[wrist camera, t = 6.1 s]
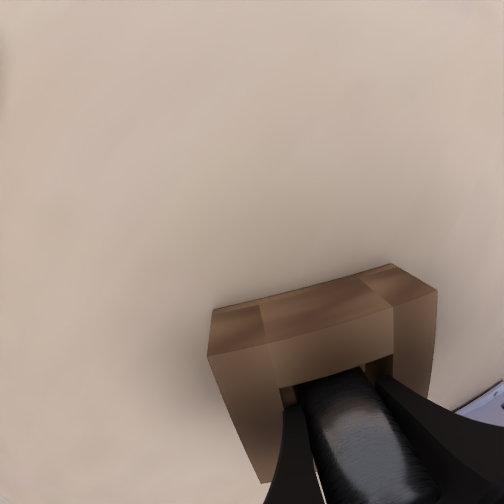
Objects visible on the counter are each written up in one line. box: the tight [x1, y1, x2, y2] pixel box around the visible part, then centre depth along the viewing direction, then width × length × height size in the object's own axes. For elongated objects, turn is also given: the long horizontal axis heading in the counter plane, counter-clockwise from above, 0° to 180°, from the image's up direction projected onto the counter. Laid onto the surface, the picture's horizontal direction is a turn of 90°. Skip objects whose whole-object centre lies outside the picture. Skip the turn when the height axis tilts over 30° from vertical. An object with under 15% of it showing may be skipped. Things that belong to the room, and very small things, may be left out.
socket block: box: [207, 264, 437, 484], centre depth 11 cm, size 8×8×4 cm
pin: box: [292, 366, 441, 504], centre depth 8 cm, size 3×3×8 cm
